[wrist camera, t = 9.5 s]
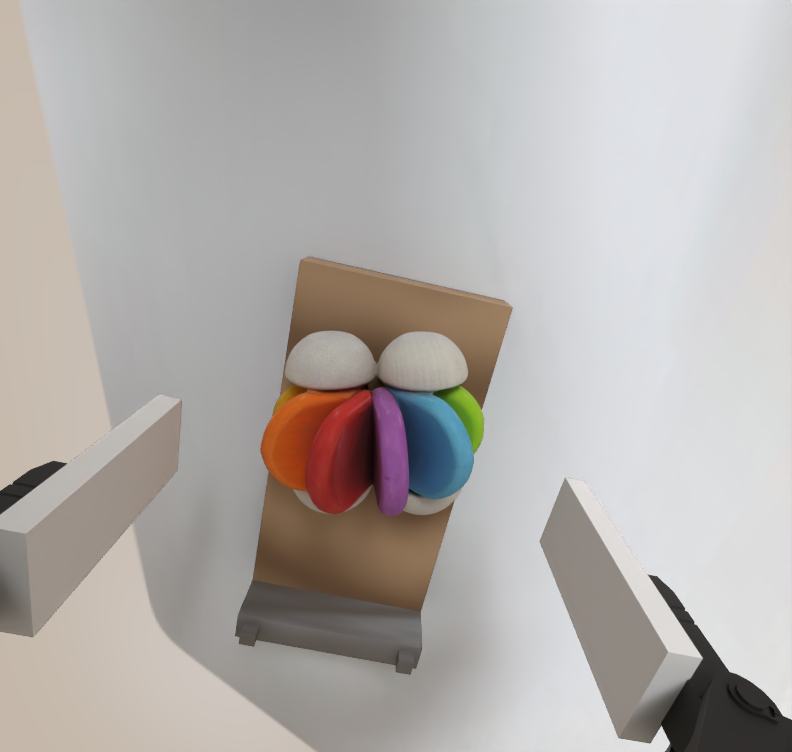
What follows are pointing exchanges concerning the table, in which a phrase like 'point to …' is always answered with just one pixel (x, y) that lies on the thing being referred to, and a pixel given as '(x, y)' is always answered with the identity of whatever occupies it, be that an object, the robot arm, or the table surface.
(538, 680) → the table surface
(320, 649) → the wooden display stand
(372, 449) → the rainbow wooden ball puzzle
